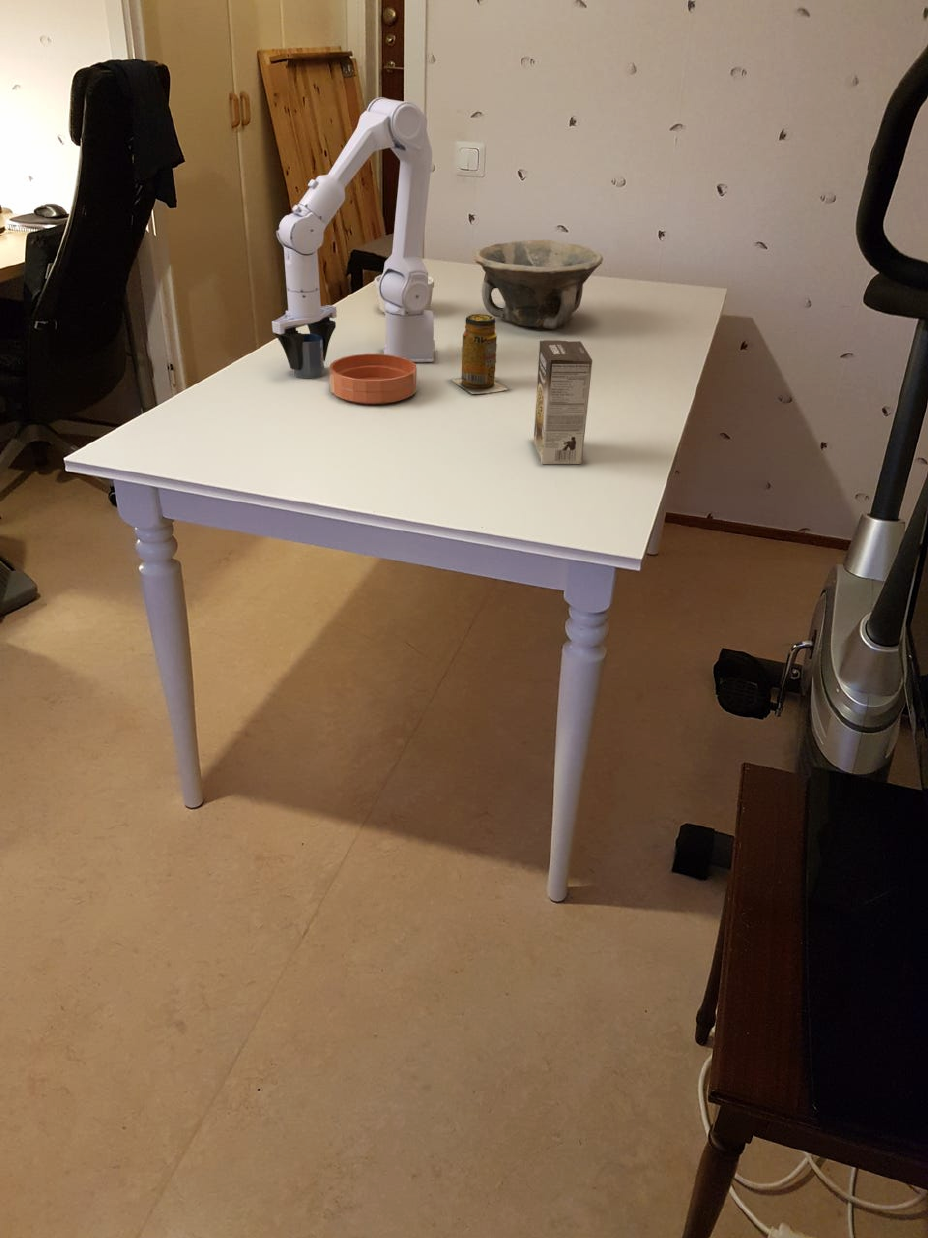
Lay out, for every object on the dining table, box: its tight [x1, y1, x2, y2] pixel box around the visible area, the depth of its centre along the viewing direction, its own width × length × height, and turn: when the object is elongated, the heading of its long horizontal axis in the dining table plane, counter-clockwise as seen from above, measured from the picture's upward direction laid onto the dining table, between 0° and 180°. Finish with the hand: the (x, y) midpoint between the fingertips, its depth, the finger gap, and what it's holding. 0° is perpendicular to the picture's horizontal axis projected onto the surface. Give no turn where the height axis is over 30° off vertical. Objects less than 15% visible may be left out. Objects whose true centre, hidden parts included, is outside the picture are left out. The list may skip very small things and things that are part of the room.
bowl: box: [474, 239, 604, 330], centre depth 202 cm, size 27×26×15 cm
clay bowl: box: [329, 352, 418, 405], centre depth 165 cm, size 15×15×4 cm
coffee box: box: [533, 339, 593, 465], centre depth 141 cm, size 9×6×16 cm
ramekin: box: [374, 274, 435, 315], centre depth 209 cm, size 13×13×7 cm
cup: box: [291, 333, 325, 379], centre depth 172 cm, size 6×6×6 cm
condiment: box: [451, 313, 509, 395], centre depth 167 cm, size 7×8×12 cm
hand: (308, 364), depth 173 cm, fingers closed on cup, 6 cm apart
